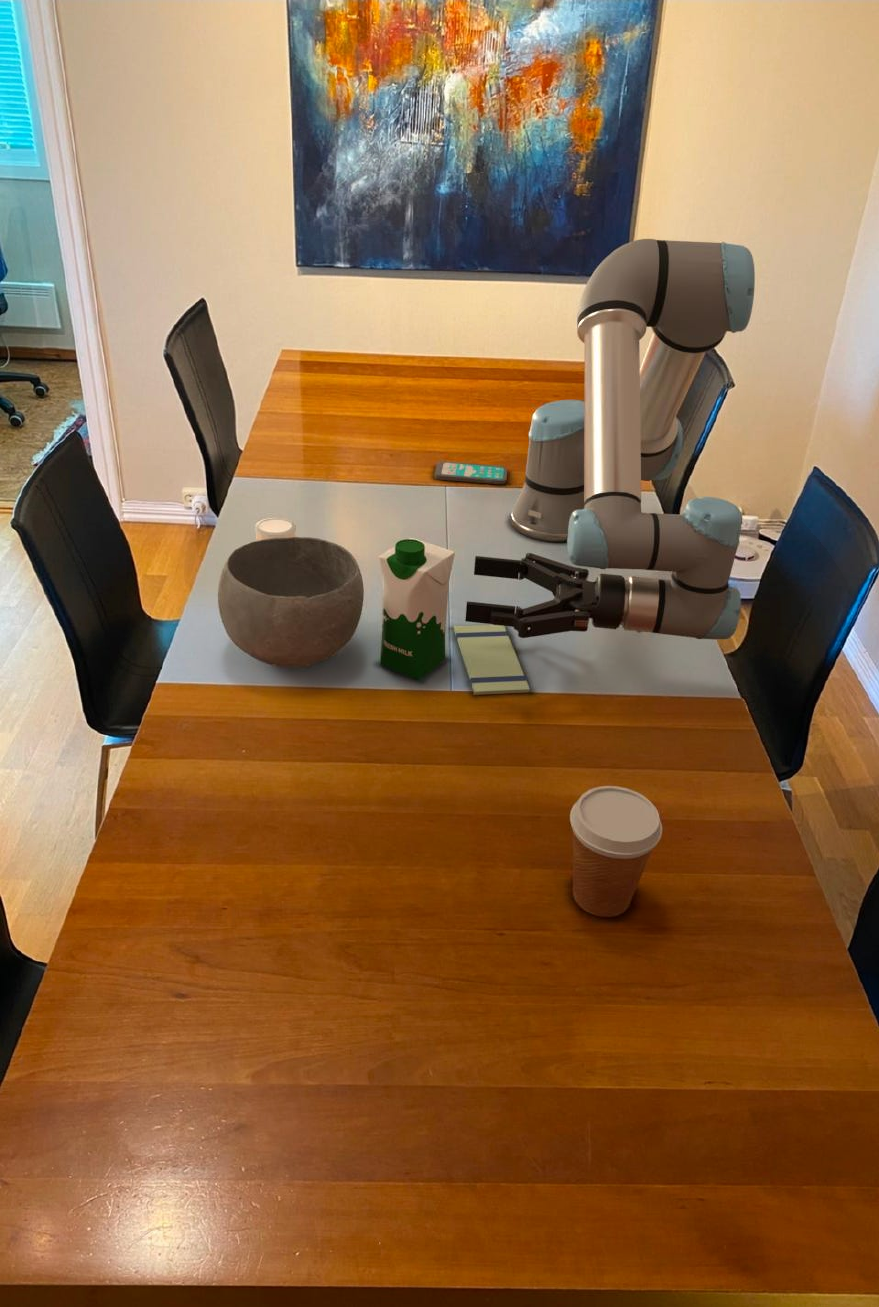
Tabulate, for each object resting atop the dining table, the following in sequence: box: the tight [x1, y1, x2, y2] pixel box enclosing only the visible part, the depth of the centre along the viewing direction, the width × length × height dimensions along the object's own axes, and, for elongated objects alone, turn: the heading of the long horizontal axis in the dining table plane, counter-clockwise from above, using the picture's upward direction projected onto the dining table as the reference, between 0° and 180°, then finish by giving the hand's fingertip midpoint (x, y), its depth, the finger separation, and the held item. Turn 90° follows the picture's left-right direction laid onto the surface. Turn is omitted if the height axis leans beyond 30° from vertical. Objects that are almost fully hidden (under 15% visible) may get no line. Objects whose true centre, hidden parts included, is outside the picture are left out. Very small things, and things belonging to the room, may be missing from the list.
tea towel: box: [453, 624, 531, 696], centre depth 147 cm, size 8×18×1 cm, turn 9°
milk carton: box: [379, 537, 456, 682], centre depth 140 cm, size 9×9×20 cm
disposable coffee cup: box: [569, 785, 663, 918], centre depth 105 cm, size 10×10×12 cm
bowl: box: [217, 536, 365, 668], centre depth 142 cm, size 20×20×15 cm
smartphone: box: [433, 461, 508, 485], centre depth 207 cm, size 9×1×15 cm
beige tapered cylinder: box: [254, 517, 297, 541], centre depth 168 cm, size 7×7×7 cm
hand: (470, 587), depth 138 cm, fingers open, 13 cm apart
